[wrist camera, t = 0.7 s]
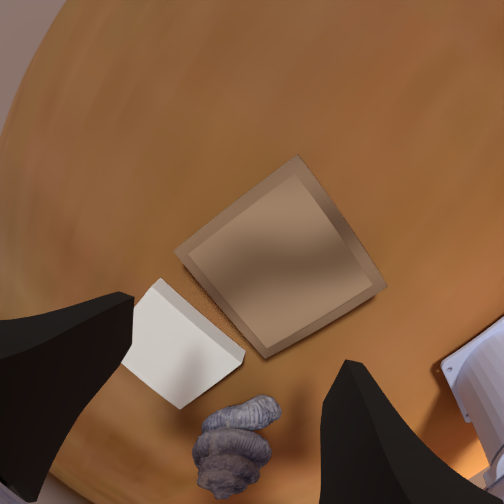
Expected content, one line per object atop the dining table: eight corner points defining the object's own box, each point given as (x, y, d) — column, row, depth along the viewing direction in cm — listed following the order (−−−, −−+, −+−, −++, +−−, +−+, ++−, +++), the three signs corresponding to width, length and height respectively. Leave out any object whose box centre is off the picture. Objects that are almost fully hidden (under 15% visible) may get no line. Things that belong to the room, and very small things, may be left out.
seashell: (252, 425, 25) (229, 521, 16) (204, 391, 24) (163, 487, 15) (296, 397, 23) (286, 505, 14) (245, 359, 23) (211, 468, 13)
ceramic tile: (245, 351, 22) (241, 363, 21) (185, 398, 25) (179, 409, 24) (160, 277, 22) (151, 286, 20) (113, 337, 24) (104, 347, 23)
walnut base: (380, 273, 19) (388, 287, 17) (268, 342, 22) (264, 360, 20) (298, 154, 18) (297, 154, 16) (184, 241, 21) (172, 251, 18)
